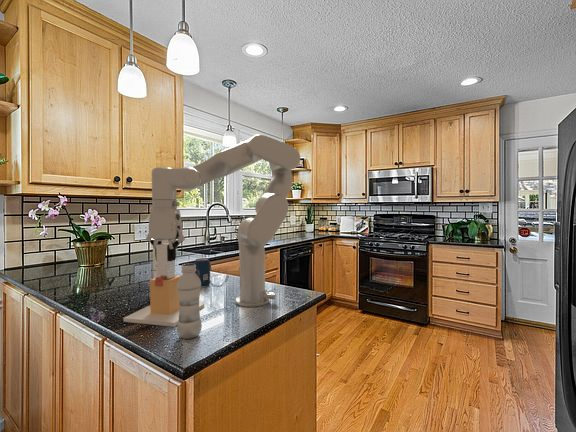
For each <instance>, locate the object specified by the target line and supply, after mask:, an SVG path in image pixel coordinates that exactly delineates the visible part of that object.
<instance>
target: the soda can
mask: <svg viewBox="0 0 576 432" xmlns="http://www.w3.org/2000/svg"><path fill="white" fill-rule="evenodd" d="M193 264H195V265H196V271H195V274H196V275H197V276H198V277H199V279H200V281H201V288H206V287H208V286H210V284H211V262H210V259H209V258H208V257H202V258H195V260H194V263H193Z"/></svg>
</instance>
